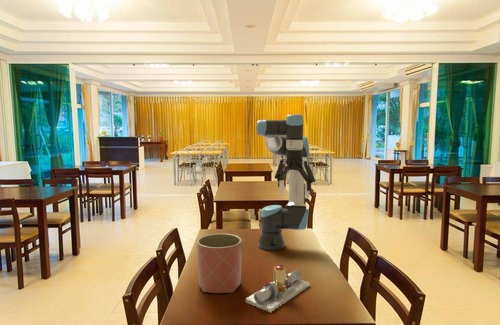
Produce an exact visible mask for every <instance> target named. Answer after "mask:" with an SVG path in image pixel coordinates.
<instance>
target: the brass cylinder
mask: <svg viewBox="0 0 500 325" xmlns="http://www.w3.org/2000/svg"><path fill="white" fill-rule="evenodd" d="M285 274H286V267H285V266H284V265H282V264H276V265H275V266H274V267H273V281H272V282H273V283H274V284H275V285H276V286H277V288H278V292H280V293H281V292H284V291H285Z"/></svg>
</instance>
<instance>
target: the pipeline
mask: <svg viewBox="0 0 500 325" xmlns="http://www.w3.org/2000/svg"><path fill="white" fill-rule="evenodd" d="M301 277H302V274H301V271H300V270H298V269H295V270H292V271H291V272H290V273H285V291H284V292H281V293H280V292H278V288H277V286H276V285H275V284H274V283H273V281H270V282H267V283H265V285H264V286H262V289H260V290H258V291H256V292H255V293H252V294H251V295H250V296H248V297H246V298H245V303H247V304H249V305H252V306H254V307H255V306H256V307H255V308H258V309H260V310H262V309H263V310H262V311H265V310H266V311H265V312H267V311H268V313H269V312H270V314H271V313H273V312H274V311H275V309H276V308H277V309H279V308H280V307H281V306H282V304H283V305H284V304H285V303H287V302H288V301H290V300H292V299H293V298H295V296H297V295H298V294H300V293H301V292H302V291H303V292H304V291H305V290H306V289H307V288H309V287H310V282H309V281H306V280H303V279H301ZM279 306H280V307H279ZM277 309H276V310H277ZM272 311H273V312H272Z"/></svg>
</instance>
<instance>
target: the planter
mask: <svg viewBox="0 0 500 325" xmlns="http://www.w3.org/2000/svg"><path fill="white" fill-rule="evenodd" d="M196 250H197V251H196V252H197V254H196V255H197V267H198V268H197V269H198V285H199V288H201V291H202V292H203V293H213V294H226V293H233V292H235V291H236V290H237V289H238V287H240V285H241V281H242V250H243V240H242V238H241V237H240V236H239V235H236V234H232V233H211V234H207V235H203V236H201V237H199V238H198V239H197V241H196Z"/></svg>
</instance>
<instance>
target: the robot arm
mask: <svg viewBox="0 0 500 325" xmlns="http://www.w3.org/2000/svg"><path fill="white" fill-rule="evenodd" d="M304 124H305V123H304V115H302V114H287V115H286V119H260V120H257V122H256V134H257V136H259V137H264V139H265V140H264V141H265V147H266V149H267V150H268V151H269V152H271V153H272V154H275V155H277V156H282V157H284V156H285V157H286V159H285V158H283V159H280V160H279V165H278V168H277V170H276V173H275V175H274V180H275V179H277V187H278V188H279V190H278V192H279V195H284V194H285V180H284V178H285V177H286V176H287V175H288V174H289V176H288V203H287V204H286V205H285V208H283V206H282V205H280V204H272V205H267V206H264V207H263V208H262V209H261V215H260V217H261V228H260V229H261V233H260V237H259V238H258V242H257V244H258V248H259V249H260V250H261V249H262V250H264V251H279V250H282V249H284V248H285V246H286V245H285V240H284V236H283V231H282V230H291V231H292V230H294V231H295V230H297V231H305V230H306V229H307V227H308V219H309V212H310V210H309V209H308V208H307V205H306V203H305V199H308V198H310V192H311V191H312V183H315V182H316V179H315V176H314V173H313V171H312V169H311V166H310V161H309V160H308V157H310V145H309V139H308V137H307V136H304ZM285 165H286V166H285Z"/></svg>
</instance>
